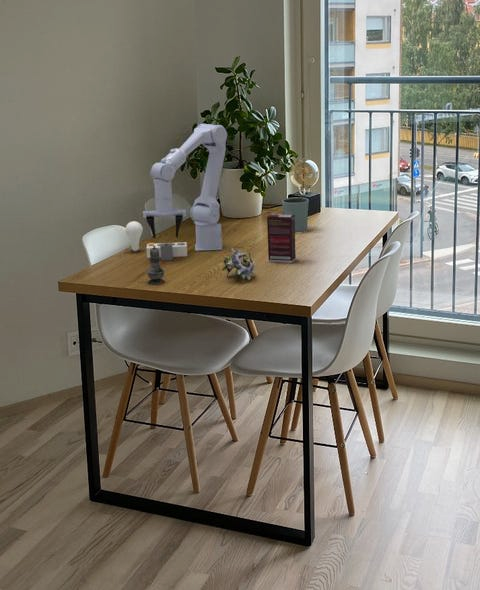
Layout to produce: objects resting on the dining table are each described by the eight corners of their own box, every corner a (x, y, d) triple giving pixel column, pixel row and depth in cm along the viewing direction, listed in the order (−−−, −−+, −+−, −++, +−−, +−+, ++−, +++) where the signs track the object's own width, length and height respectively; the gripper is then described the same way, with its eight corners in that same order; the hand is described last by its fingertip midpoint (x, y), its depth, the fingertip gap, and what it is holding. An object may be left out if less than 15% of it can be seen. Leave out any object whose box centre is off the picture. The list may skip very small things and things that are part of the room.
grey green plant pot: (313, 229, 346) (313, 198, 342) (301, 234, 338) (300, 203, 334) (290, 226, 351) (290, 196, 348) (277, 232, 343) (277, 201, 340)
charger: (172, 255, 314) (172, 241, 312) (172, 259, 309) (172, 245, 307) (161, 256, 314) (160, 241, 312) (161, 260, 308) (160, 245, 307)
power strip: (187, 251, 319) (186, 240, 317) (187, 256, 313) (186, 244, 312) (147, 253, 318) (147, 241, 317) (147, 257, 312) (146, 246, 311)
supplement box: (296, 259, 304) (295, 214, 299) (292, 263, 300) (291, 217, 295) (271, 258, 307) (270, 213, 302) (267, 262, 302) (266, 216, 298)
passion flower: (248, 296, 285) (244, 273, 275) (217, 287, 288) (212, 264, 278) (261, 269, 290) (258, 246, 281) (231, 261, 294) (227, 237, 284)
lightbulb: (141, 253, 318) (139, 223, 315) (124, 253, 319) (122, 223, 316) (146, 249, 324) (144, 219, 320) (130, 249, 325) (127, 219, 322)
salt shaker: (147, 279, 286) (144, 243, 283) (165, 278, 287) (163, 242, 283) (146, 285, 281) (144, 248, 277) (165, 284, 281) (163, 247, 278)
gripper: (141, 201, 300) (144, 240, 304) (185, 199, 301) (186, 239, 305) (142, 197, 307) (145, 236, 311) (184, 195, 307) (186, 234, 311)
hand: (165, 237), depth 308 cm, fingers open, 7 cm apart
